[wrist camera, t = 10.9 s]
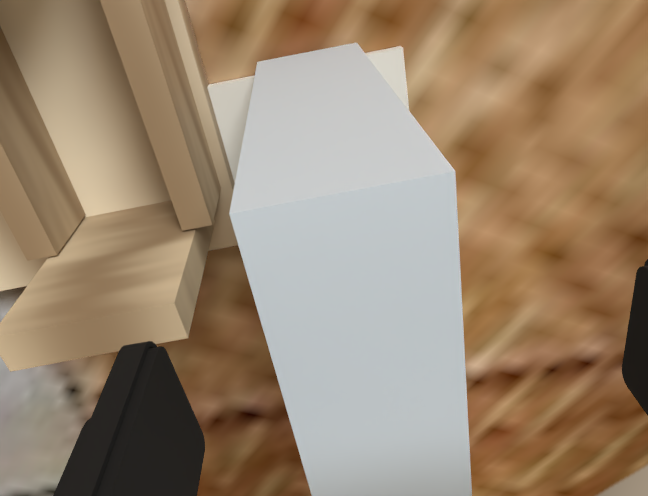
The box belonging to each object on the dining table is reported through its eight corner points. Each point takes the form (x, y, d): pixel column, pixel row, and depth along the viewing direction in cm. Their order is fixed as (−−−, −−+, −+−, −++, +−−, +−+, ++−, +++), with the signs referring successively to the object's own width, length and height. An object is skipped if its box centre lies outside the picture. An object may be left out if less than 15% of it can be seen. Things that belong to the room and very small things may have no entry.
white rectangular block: (356, 42, 19) (455, 170, 8) (385, 260, 23) (473, 523, 13) (257, 61, 19) (229, 214, 8) (305, 275, 23) (327, 548, 13)
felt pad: (400, 45, 19) (402, 47, 19) (419, 238, 23) (422, 243, 23) (208, 84, 19) (207, 87, 19) (260, 269, 23) (260, 274, 23)
